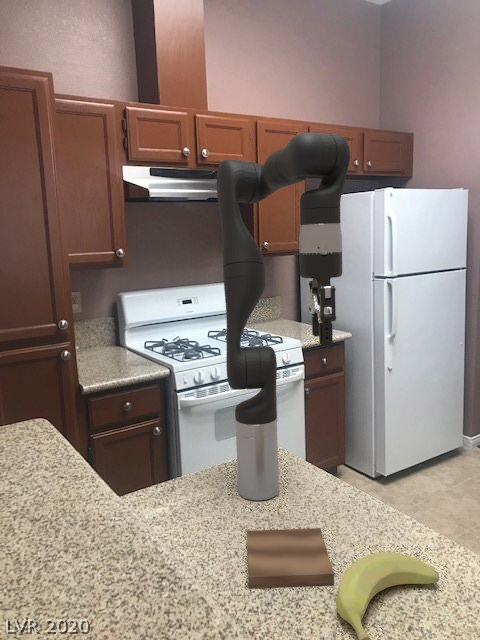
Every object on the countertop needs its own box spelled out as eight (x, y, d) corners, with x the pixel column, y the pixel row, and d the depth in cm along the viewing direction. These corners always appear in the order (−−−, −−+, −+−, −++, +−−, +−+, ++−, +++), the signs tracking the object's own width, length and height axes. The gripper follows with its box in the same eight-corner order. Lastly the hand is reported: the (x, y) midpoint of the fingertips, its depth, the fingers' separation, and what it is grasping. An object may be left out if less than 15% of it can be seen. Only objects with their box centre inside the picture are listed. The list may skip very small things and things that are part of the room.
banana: (355, 553, 92) (320, 640, 75) (361, 527, 91) (326, 610, 73) (435, 586, 87) (417, 688, 70) (443, 559, 85) (427, 657, 68)
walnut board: (247, 540, 100) (246, 530, 100) (320, 537, 100) (320, 528, 100) (248, 588, 86) (248, 577, 86) (334, 585, 86) (333, 573, 86)
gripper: (295, 250, 100) (296, 334, 103) (304, 251, 86) (306, 348, 89) (334, 249, 100) (335, 332, 103) (350, 250, 86) (351, 347, 89)
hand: (322, 340), depth 96 cm, fingers open, 8 cm apart
